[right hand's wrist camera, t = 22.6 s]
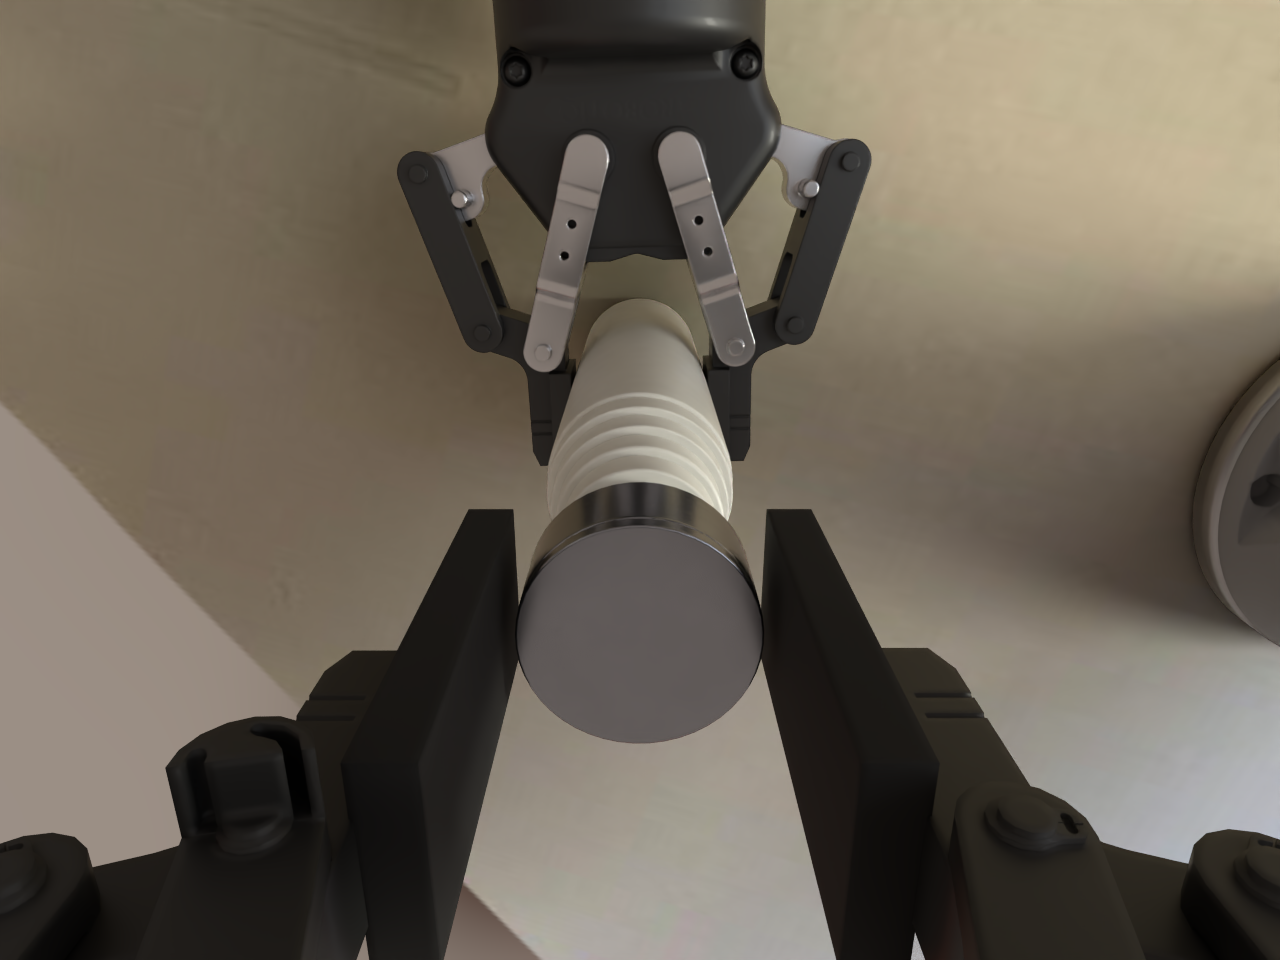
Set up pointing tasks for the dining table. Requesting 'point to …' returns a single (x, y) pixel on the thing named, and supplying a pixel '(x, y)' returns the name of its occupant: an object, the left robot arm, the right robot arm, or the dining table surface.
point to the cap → (639, 615)
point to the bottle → (639, 412)
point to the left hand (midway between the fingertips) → (643, 470)
